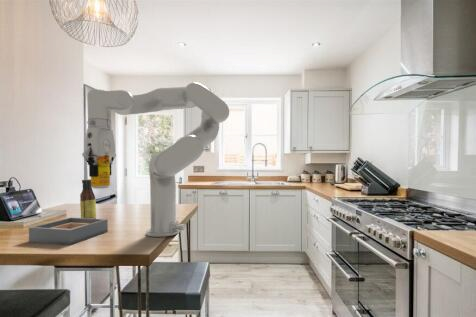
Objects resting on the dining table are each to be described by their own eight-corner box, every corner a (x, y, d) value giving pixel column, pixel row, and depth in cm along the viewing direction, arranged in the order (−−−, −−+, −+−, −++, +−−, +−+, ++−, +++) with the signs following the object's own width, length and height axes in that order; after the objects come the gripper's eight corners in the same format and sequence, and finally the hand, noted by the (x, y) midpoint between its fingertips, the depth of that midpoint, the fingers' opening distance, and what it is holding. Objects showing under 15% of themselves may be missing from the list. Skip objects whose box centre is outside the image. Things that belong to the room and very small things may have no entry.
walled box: (107, 231, 114) (107, 219, 114) (70, 245, 96) (70, 230, 96) (70, 229, 118) (70, 217, 118) (28, 241, 101) (28, 227, 101)
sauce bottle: (99, 221, 135) (98, 178, 135) (91, 224, 128) (90, 179, 128) (86, 221, 135) (85, 179, 135) (77, 224, 129) (76, 179, 129)
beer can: (102, 188, 98) (102, 145, 98) (87, 188, 99) (86, 145, 99) (113, 186, 104) (112, 145, 104) (98, 187, 105) (97, 146, 105)
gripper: (90, 122, 93) (91, 177, 93) (124, 127, 109) (125, 174, 109) (71, 123, 95) (72, 177, 95) (107, 128, 111) (108, 174, 111)
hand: (100, 175), depth 102 cm, fingers closed on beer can, 5 cm apart
